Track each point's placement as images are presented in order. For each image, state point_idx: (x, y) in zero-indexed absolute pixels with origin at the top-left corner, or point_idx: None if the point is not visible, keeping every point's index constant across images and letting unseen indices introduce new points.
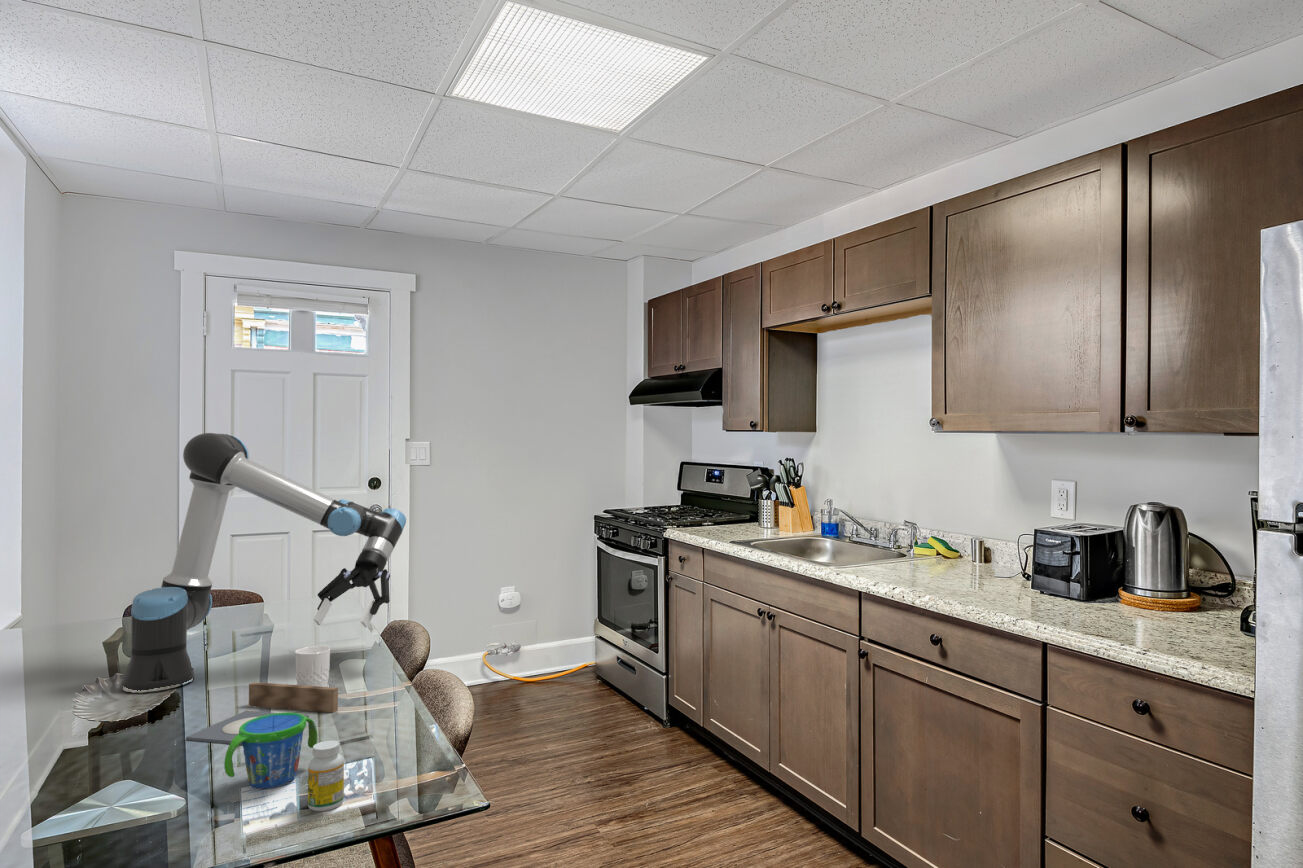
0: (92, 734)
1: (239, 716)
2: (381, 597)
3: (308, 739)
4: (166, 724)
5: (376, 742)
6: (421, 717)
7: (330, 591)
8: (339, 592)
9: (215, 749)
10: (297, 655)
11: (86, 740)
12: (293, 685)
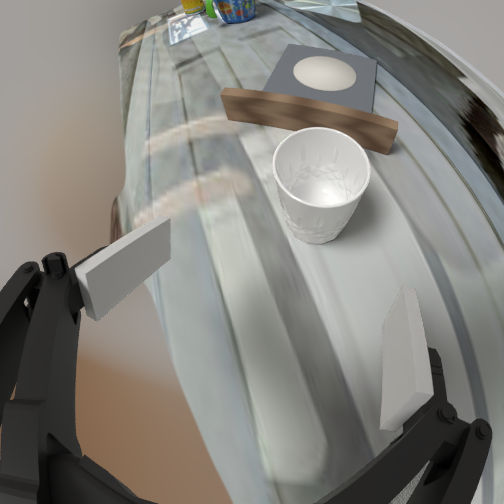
0: (481, 101)
1: (363, 98)
2: (39, 282)
3: (215, 14)
4: (440, 106)
5: (168, 61)
6: (122, 111)
7: (422, 454)
8: (348, 482)
9: (325, 44)
10: (346, 138)
11: (470, 89)
12: (307, 103)
